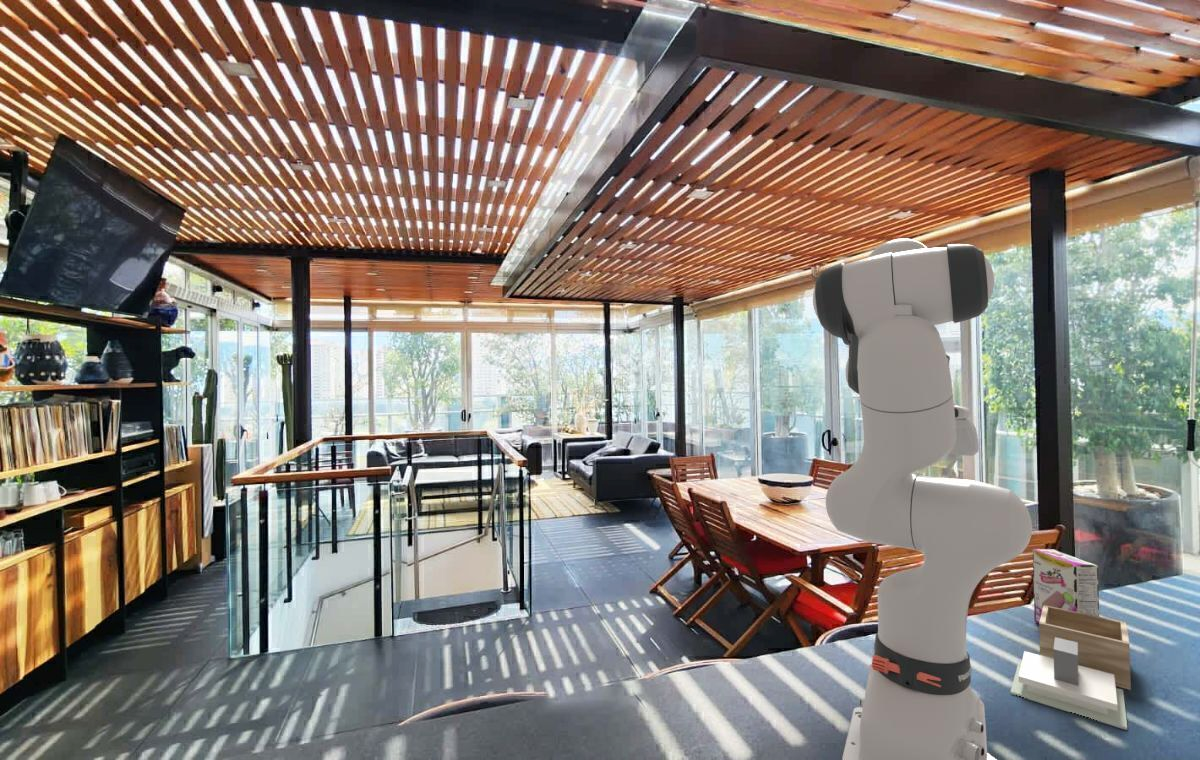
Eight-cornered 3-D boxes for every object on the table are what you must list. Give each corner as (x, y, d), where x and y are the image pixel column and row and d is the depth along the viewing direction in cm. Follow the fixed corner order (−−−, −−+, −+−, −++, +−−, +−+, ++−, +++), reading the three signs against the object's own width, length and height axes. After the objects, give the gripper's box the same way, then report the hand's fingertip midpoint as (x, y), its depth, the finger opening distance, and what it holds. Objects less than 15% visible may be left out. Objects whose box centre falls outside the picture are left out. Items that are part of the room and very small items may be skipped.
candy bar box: (1032, 621, 117) (1030, 548, 118) (1054, 622, 117) (1053, 548, 117) (1076, 645, 106) (1075, 564, 106) (1101, 646, 106) (1099, 564, 106)
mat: (1127, 730, 79) (1127, 727, 79) (1010, 693, 89) (1010, 691, 89) (1123, 692, 89) (1123, 689, 89) (1018, 663, 99) (1018, 661, 99)
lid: (1117, 721, 81) (1116, 672, 81) (1018, 691, 89) (1017, 646, 89) (1114, 689, 89) (1113, 645, 90) (1024, 664, 98) (1023, 624, 98)
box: (1130, 690, 90) (1129, 644, 90) (1040, 666, 98) (1039, 623, 98) (1127, 665, 99) (1126, 622, 99) (1044, 644, 107) (1043, 604, 107)
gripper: (863, 408, 117) (864, 470, 116) (974, 410, 103) (975, 480, 102) (871, 407, 121) (872, 467, 121) (979, 409, 107) (980, 477, 107)
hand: (920, 473), depth 112 cm, fingers open, 8 cm apart
